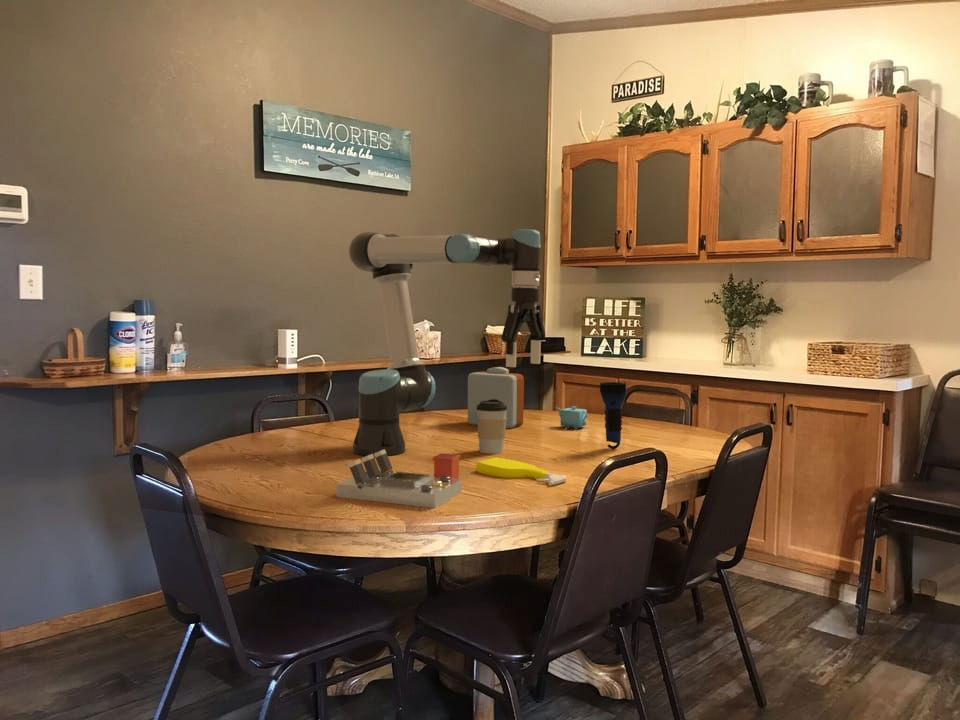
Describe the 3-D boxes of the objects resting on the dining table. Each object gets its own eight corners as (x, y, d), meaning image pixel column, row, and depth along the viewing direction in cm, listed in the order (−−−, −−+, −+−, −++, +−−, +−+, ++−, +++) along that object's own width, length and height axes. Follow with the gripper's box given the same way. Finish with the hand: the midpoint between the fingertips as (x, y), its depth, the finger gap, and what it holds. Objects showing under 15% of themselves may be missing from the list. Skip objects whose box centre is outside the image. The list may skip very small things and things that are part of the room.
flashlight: (593, 447, 236) (594, 381, 234) (614, 445, 240) (615, 380, 238) (609, 452, 229) (610, 384, 227) (630, 450, 233) (632, 383, 231)
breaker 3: (381, 473, 184) (373, 453, 184) (386, 471, 186) (378, 451, 186) (388, 470, 183) (380, 450, 184) (392, 468, 185) (384, 449, 186)
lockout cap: (432, 486, 186) (432, 457, 185) (441, 481, 190) (441, 453, 190) (452, 487, 184) (452, 458, 183) (460, 483, 189) (460, 454, 188)
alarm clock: (524, 426, 276) (524, 368, 274) (511, 429, 268) (512, 369, 267) (479, 421, 285) (480, 365, 284) (466, 424, 278) (467, 366, 276)
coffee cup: (503, 455, 223) (504, 403, 222) (473, 453, 225) (473, 402, 224) (509, 449, 232) (509, 399, 231) (479, 447, 234) (479, 398, 233)
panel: (336, 497, 174) (336, 478, 174) (368, 482, 188) (368, 465, 188) (434, 508, 166) (434, 488, 166) (461, 492, 180) (461, 474, 180)
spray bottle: (498, 467, 209) (574, 483, 193) (471, 473, 201) (548, 490, 185) (499, 456, 209) (575, 471, 193) (471, 462, 201) (548, 478, 185)
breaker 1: (356, 484, 173) (347, 463, 173) (361, 482, 175) (353, 461, 175) (362, 481, 172) (354, 460, 172) (368, 479, 174) (359, 458, 175)
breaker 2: (369, 478, 178) (361, 458, 179) (374, 476, 180) (366, 456, 181) (375, 476, 178) (367, 455, 178) (380, 473, 180) (372, 453, 180)
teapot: (551, 427, 274) (552, 406, 273) (558, 425, 279) (559, 404, 278) (583, 430, 268) (583, 408, 267) (590, 428, 273) (590, 406, 272)
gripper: (514, 286, 199) (512, 369, 201) (558, 288, 220) (556, 363, 222) (489, 286, 203) (487, 367, 205) (535, 287, 224) (533, 361, 226)
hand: (523, 365), depth 213 cm, fingers open, 13 cm apart
